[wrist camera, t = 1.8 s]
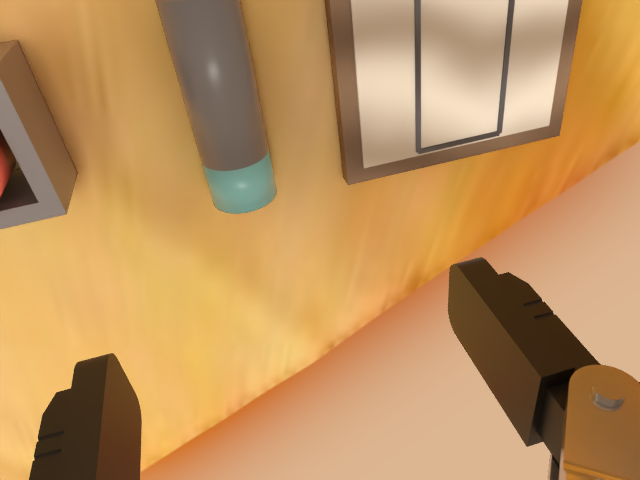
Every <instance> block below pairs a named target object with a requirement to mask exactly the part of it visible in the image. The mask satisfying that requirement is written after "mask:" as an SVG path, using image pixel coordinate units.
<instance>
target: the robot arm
mask: <svg viewBox="0 0 640 480" xmlns="http://www.w3.org/2000/svg"><path fill="white" fill-rule="evenodd" d="M449 274H450V275H449V298H448V299H449V300H448V314H449V319H450V323H451V326H452V328H453V331H454V333H455V334H456V336H457V338H458V339H459V341H460V342H461V344H462V346H463V347H464V349H465V350H466V352H467V353H468V355H469V356H470V358H471V359H472V361H473V363H474V364H475V366H476V367H477V369H478V371H479V372H480V374H481V375H482V377H483V378H484V380H485V381H486V383H487V385H488V386H489V388H490V390H491V391H492V393H493V394H494V396H495V397H496V399H497V400H498V402H499V403H500V405H501V407H502V408H503V410H504V411H505V413H506V414H507V416H508V418H509V419H510V421H511V423H512V424H513V426H514V427H515V429H516V430H517V432H518V433H519V435H520V437H521V438H522V440H523V441H524V443H525V444H526V446H531V445H534V444H537V443H540V442H544V443H545V445H546V446H547V448H548V449H549V451H550V452H551V455H550V460H549V471H548V480H640V382H638V381H637V380H636V379H634V378H633V377H632V376H630V375H629V374H627V373H626V372H624V371H622V370H619V369H617V368H614V367H610V366H606V365H601V364H600V363H598V361H597V360H596V359H595V358H594V357H593V356H592V355H591V354H590V353H589V352H588V351H587V349H586V348H585V347H584V346H583V345H582V344H581V343H580V341H579V340H578V339H577V338H576V337H575V336H574V335H573V334H572V332H571V331H570V330H569V329H568V328H567V327H566V326H565V324H564V323H563V322H562V321H561V320H560V319H559V318H558V317H557V316H556V315H554V314H553V311H552V310H551V309H550V308H549V307H548V305H547V304H546V303H545V302H542V299H541V297H540V296H539V295H538V294H537V293H536V292H535V291H534V290H533V288H532V287H531V286H530V285H529V284H528V283H526V282H525V281H523V280H521V279H519V278H517V277H516V276H514V275H512V274H511V273H509V272H508V273H504V274H500V275H498V274H497V272H496V271H495V270H494V269H493V268H492V266H491V265H490V264H489V263H488V262H487V261H486V260H485V259H484V258H476V259H472V260H469V261H465V262H461V263H457V264H453V265H451V267H450V272H449ZM141 424H142V420H141V410H140V405H139V401H138V398H137V396H136V393H135V391H134V390H133V388H132V386H131V384H130V382H129V380H128V378H127V376H126V374H125V372H124V371H123V369H122V367H121V365H120V363H119V361H118V359H117V357H116V356H115V355H114V354H113V353H111V354H107V355H103V356H99V357H95V358H91V359H88V360H84V361H80V362H78V363H77V364H76V365H75V368H74V374H73V380H72V386H71V389H67V390H64V391H60V392H57V393H56V394H55V396H54V397H53V399H52V401H51V402H50V404H49V405H48V407H47V409H46V410H45V412H44V413H43V415H42V420H41V425H40V430H39V434H38V440H39V441H38V442H37V444H36V449H35V453H34V458H35V461H33V463H32V468H31V473H30V477H29V480H140V459H141Z"/></svg>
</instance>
